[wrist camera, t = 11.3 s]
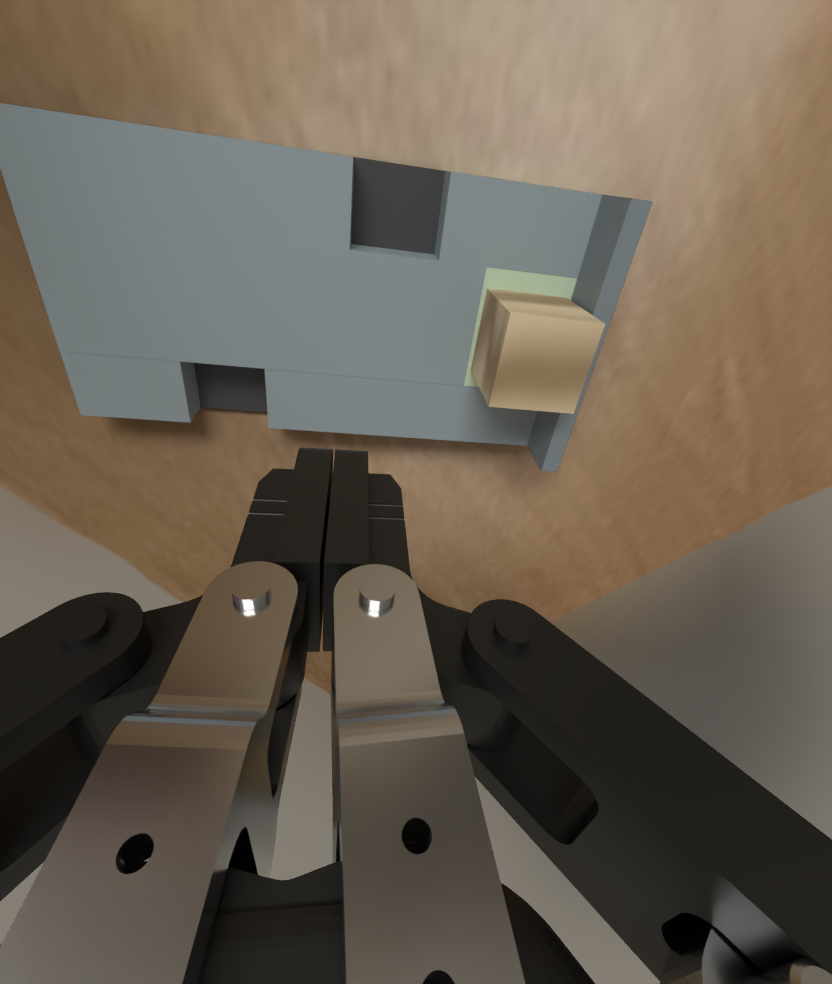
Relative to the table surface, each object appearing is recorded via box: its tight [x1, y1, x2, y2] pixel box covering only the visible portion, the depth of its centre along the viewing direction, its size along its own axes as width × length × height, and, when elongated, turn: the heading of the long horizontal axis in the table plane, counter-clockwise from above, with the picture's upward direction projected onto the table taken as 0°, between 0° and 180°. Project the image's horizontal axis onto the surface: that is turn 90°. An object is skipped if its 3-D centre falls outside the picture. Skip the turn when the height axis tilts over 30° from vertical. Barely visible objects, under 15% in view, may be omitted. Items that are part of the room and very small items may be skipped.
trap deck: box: [0, 103, 653, 472], centre depth 24 cm, size 14×28×5 cm, turn 83°
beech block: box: [471, 288, 605, 414], centre depth 24 cm, size 4×4×5 cm
